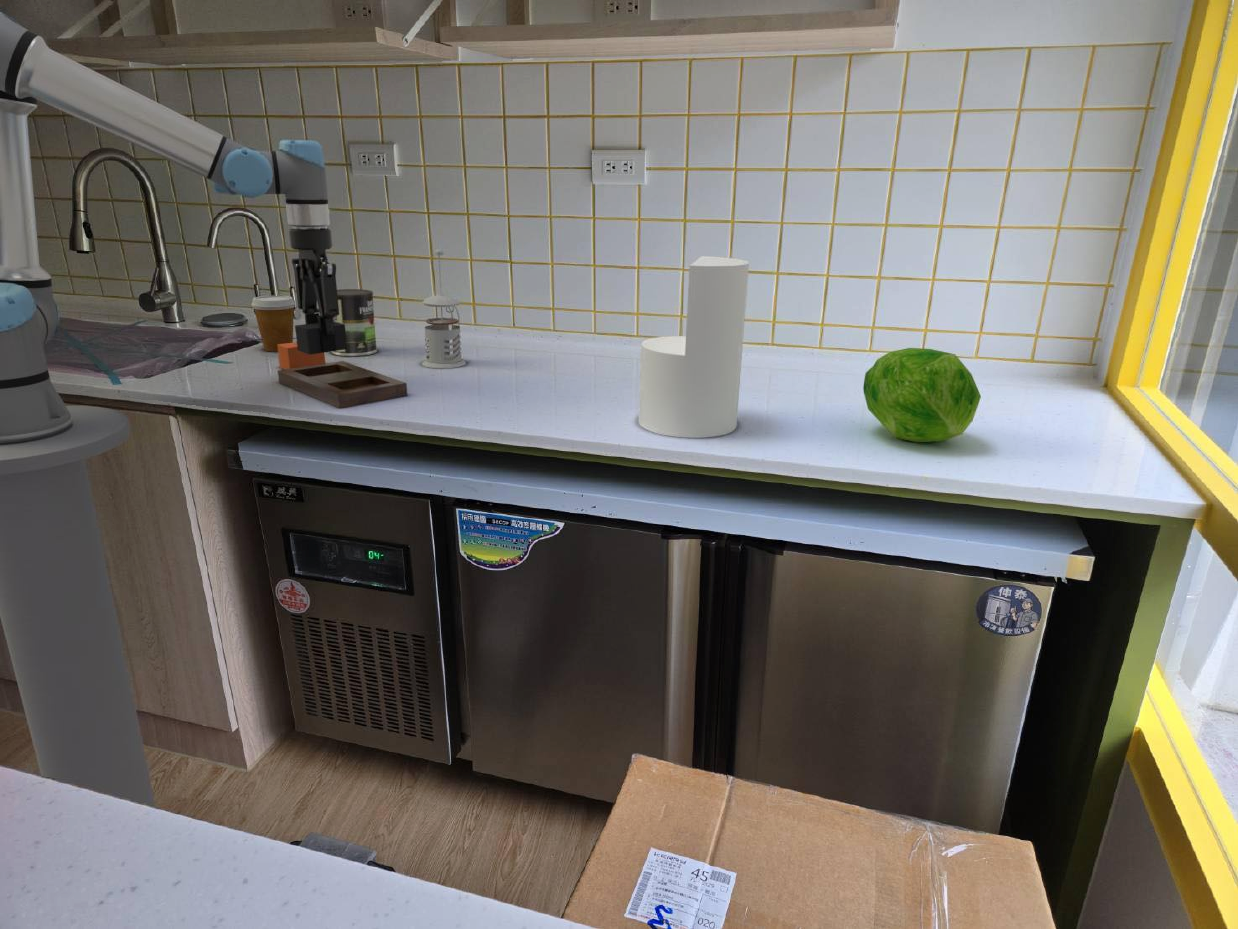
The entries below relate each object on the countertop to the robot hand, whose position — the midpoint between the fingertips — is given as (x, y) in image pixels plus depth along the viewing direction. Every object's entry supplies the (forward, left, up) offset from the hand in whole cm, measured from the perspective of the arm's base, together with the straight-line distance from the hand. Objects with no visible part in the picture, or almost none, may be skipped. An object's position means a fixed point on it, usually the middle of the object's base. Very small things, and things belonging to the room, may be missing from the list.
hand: (322, 348), depth 163 cm
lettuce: (+57, -98, -7) cm, 114 cm away
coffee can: (+19, +23, -7) cm, 31 cm away
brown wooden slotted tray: (0, -7, -7) cm, 10 cm away
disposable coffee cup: (+7, +37, -7) cm, 38 cm away
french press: (+29, 0, -7) cm, 30 cm away
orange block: (+3, +16, -7) cm, 18 cm away
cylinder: (+34, -67, -7) cm, 75 cm away
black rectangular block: (0, 0, 0) cm, 0 cm away
